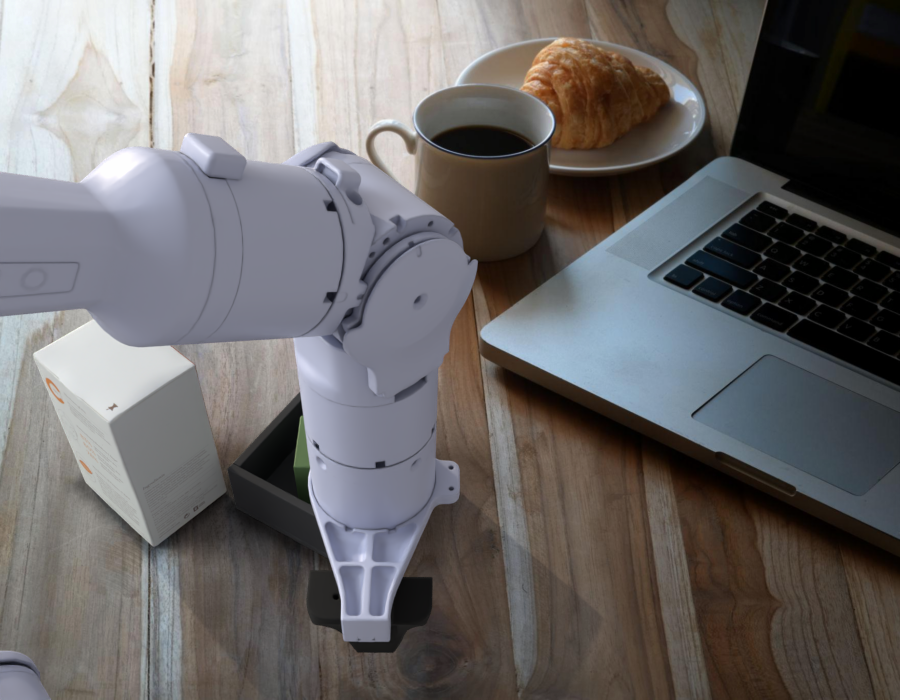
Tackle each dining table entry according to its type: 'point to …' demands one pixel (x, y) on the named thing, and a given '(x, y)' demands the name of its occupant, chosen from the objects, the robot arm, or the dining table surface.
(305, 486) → the block
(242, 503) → the dark grey open tray
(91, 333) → the small box
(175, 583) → the dining table surface
